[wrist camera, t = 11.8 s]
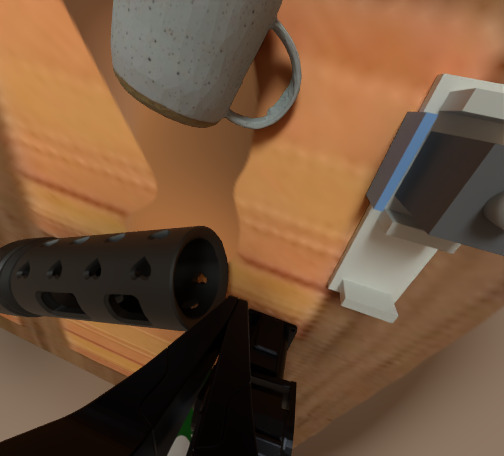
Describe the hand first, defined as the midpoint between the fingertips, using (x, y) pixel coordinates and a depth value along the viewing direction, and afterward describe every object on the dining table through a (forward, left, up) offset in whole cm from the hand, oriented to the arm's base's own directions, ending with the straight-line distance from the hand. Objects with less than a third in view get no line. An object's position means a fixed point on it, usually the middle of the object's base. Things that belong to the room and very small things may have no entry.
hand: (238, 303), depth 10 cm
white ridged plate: (+2, -10, -12) cm, 16 cm away
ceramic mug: (+10, +6, -12) cm, 17 cm away
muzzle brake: (-12, +17, -12) cm, 24 cm away
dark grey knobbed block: (+6, -10, -11) cm, 16 cm away
